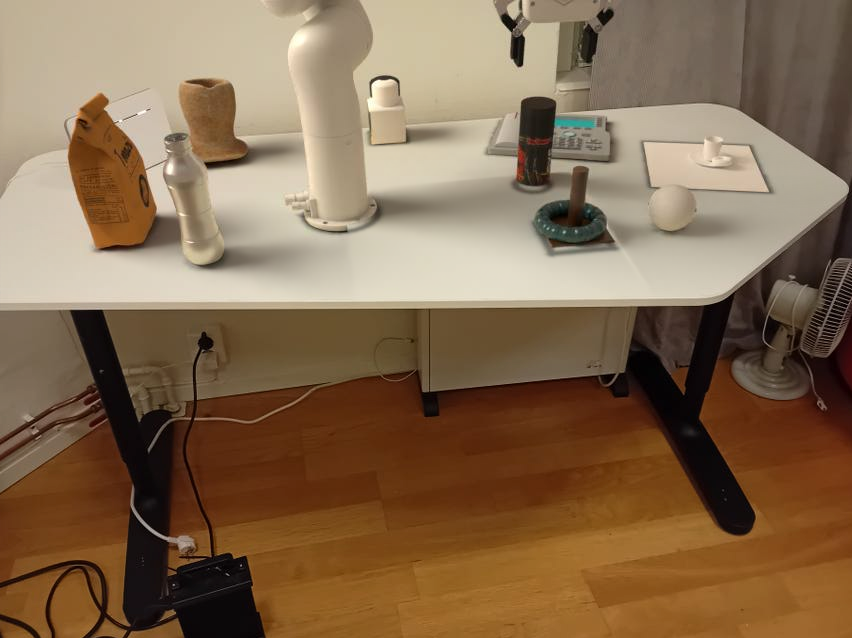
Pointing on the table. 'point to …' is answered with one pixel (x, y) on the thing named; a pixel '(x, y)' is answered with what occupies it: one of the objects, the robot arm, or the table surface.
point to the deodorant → (535, 140)
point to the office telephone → (559, 137)
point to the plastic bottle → (192, 200)
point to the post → (577, 210)
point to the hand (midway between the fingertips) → (551, 62)
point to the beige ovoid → (672, 207)
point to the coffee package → (109, 178)
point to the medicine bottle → (386, 111)
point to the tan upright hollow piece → (211, 118)
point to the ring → (570, 233)
